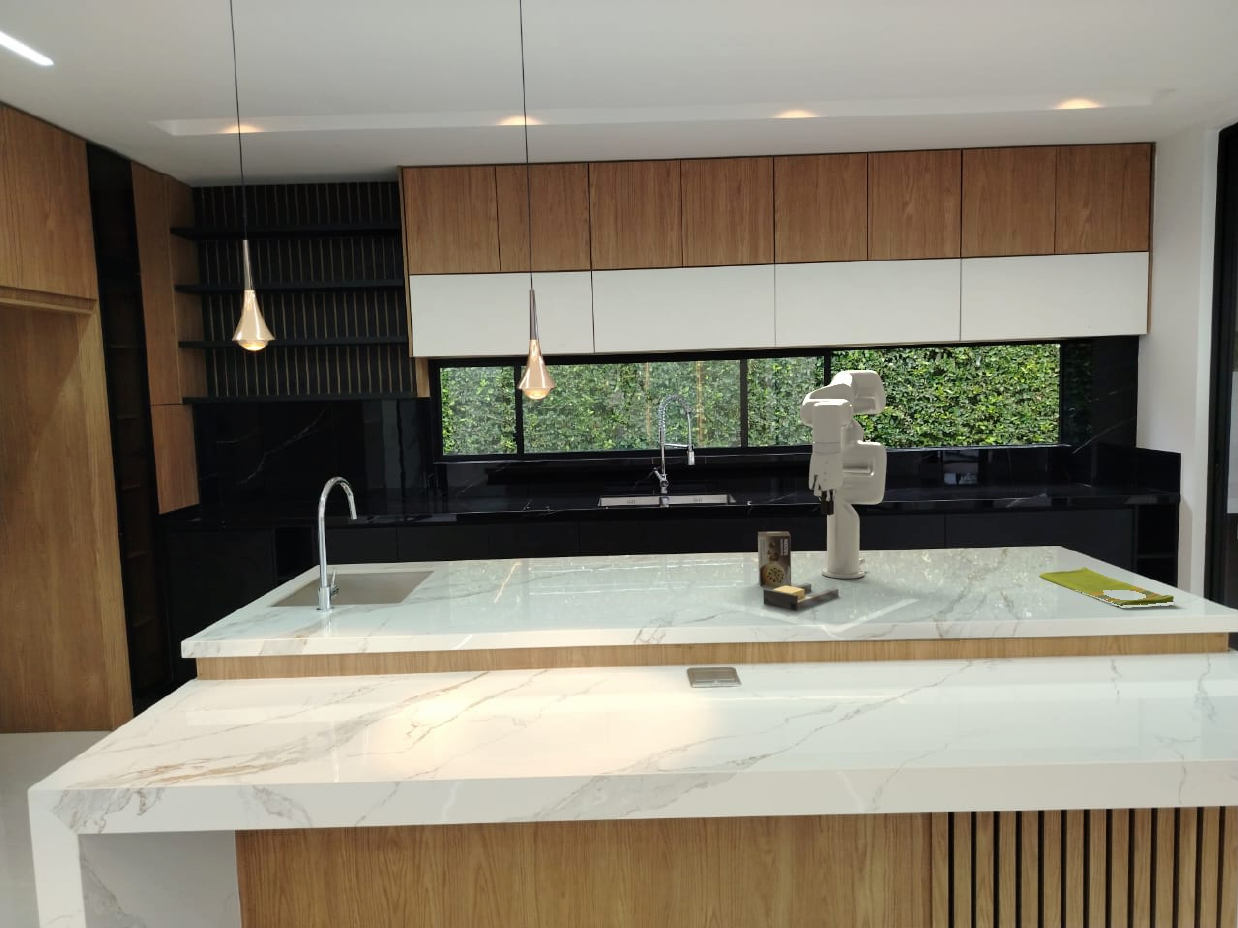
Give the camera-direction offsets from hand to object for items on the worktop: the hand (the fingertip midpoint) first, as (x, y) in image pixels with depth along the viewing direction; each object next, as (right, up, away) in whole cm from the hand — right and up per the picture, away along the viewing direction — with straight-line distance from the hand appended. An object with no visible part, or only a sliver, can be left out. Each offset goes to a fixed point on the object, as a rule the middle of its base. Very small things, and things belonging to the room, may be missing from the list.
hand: (827, 514), depth 236 cm
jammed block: (-12, -23, -9) cm, 28 cm away
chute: (-8, -24, -4) cm, 26 cm away
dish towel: (+77, -22, +3) cm, 80 cm away
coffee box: (-12, -22, +14) cm, 29 cm away
